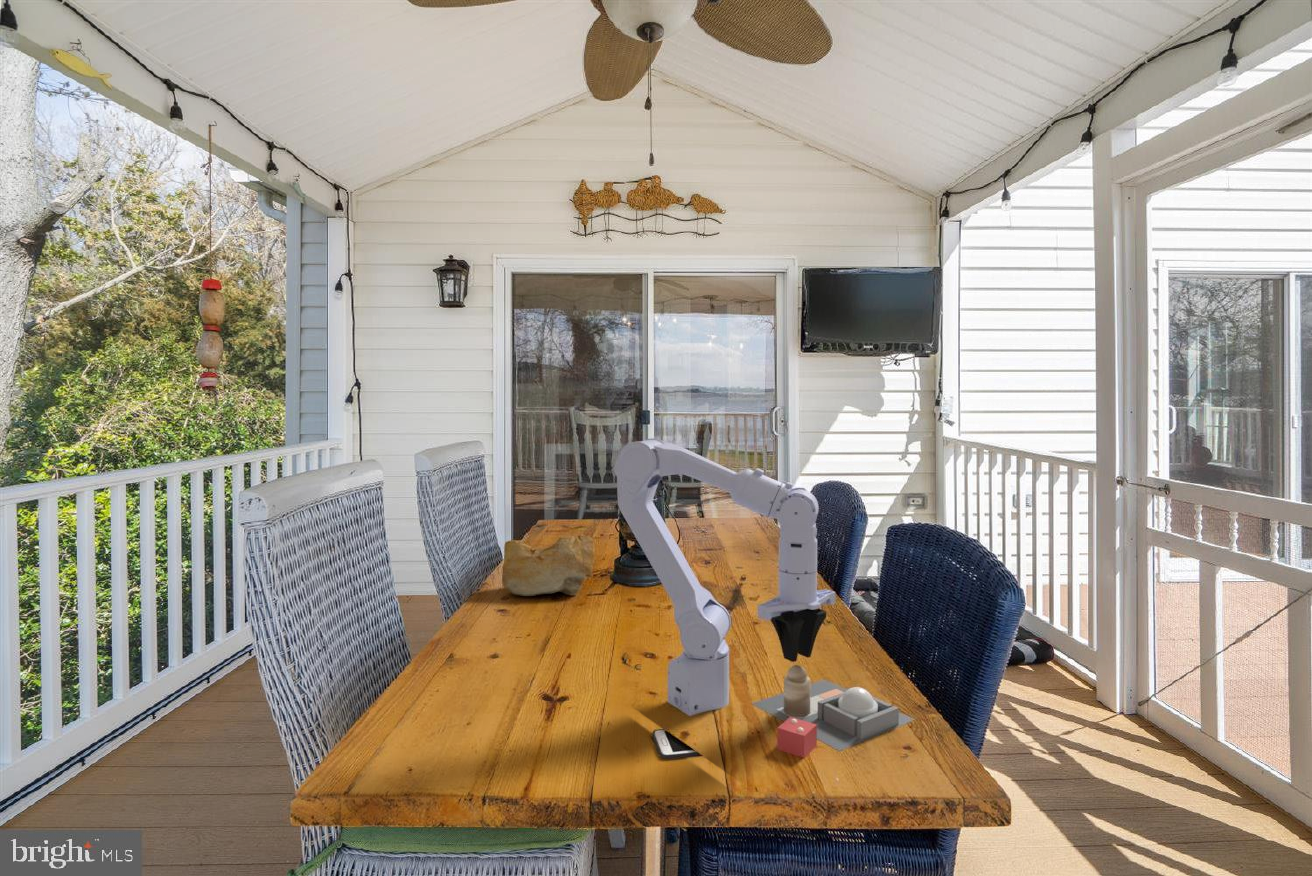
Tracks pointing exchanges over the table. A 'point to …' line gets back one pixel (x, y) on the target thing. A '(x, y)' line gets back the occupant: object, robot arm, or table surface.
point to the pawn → (797, 692)
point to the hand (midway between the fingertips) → (797, 657)
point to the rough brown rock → (548, 566)
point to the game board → (838, 716)
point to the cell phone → (672, 746)
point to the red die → (797, 737)
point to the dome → (858, 703)
